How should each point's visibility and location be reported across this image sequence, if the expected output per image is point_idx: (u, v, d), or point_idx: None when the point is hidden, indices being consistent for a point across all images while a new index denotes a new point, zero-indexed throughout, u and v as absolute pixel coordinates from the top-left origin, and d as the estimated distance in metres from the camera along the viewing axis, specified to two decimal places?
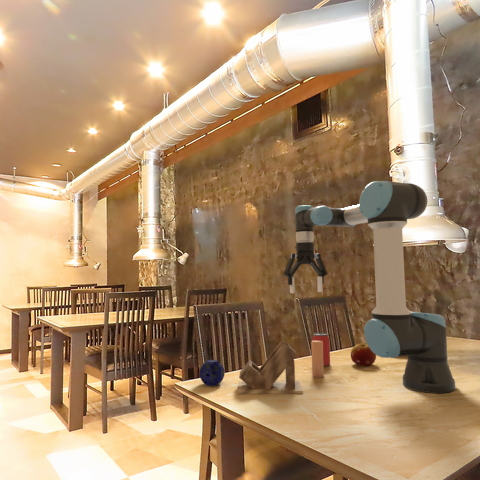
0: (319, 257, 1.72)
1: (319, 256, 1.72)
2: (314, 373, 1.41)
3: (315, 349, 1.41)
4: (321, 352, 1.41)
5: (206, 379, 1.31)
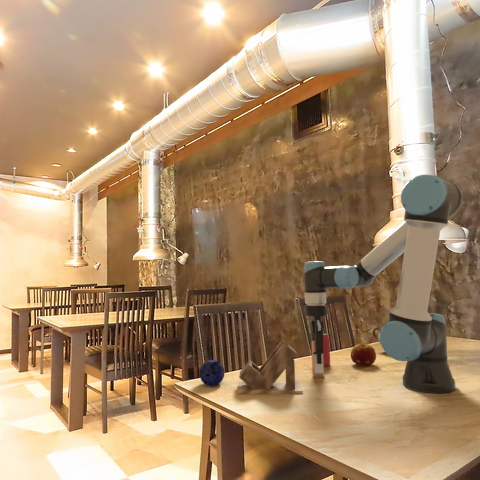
0: (315, 329, 1.38)
1: (315, 328, 1.38)
2: (314, 373, 1.41)
3: None
4: None
5: (206, 379, 1.31)
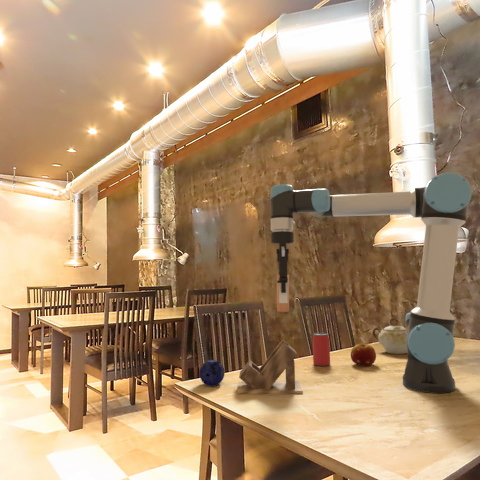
0: (279, 255, 1.28)
1: (279, 253, 1.28)
2: (278, 307, 1.31)
3: None
4: None
5: (206, 379, 1.31)
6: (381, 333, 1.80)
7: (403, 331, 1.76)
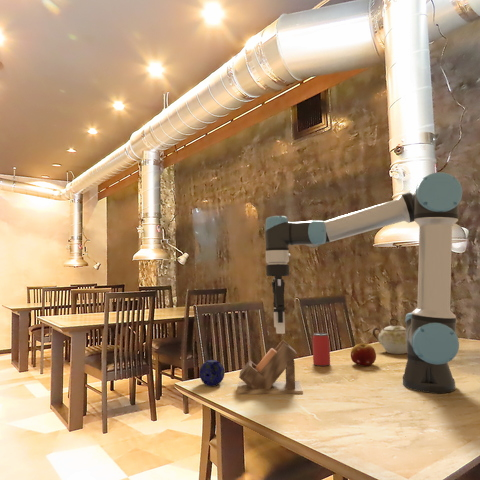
0: (275, 284, 1.24)
1: (275, 283, 1.25)
2: None
3: (269, 356, 1.27)
4: None
5: (206, 379, 1.31)
6: (381, 333, 1.80)
7: (403, 331, 1.76)
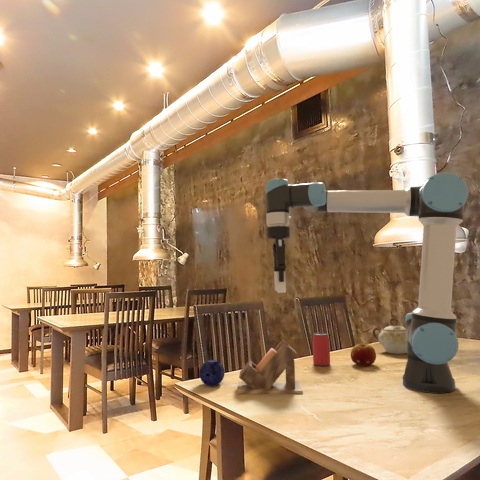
0: (276, 245, 1.26)
1: (276, 243, 1.26)
2: None
3: (269, 356, 1.27)
4: None
5: (206, 379, 1.31)
6: (381, 333, 1.80)
7: (403, 331, 1.76)
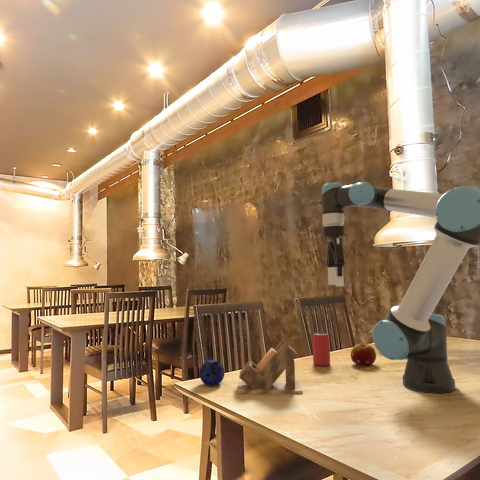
0: (334, 243, 1.38)
1: (334, 242, 1.38)
2: None
3: (269, 356, 1.27)
4: None
5: (206, 379, 1.31)
6: None
7: None
